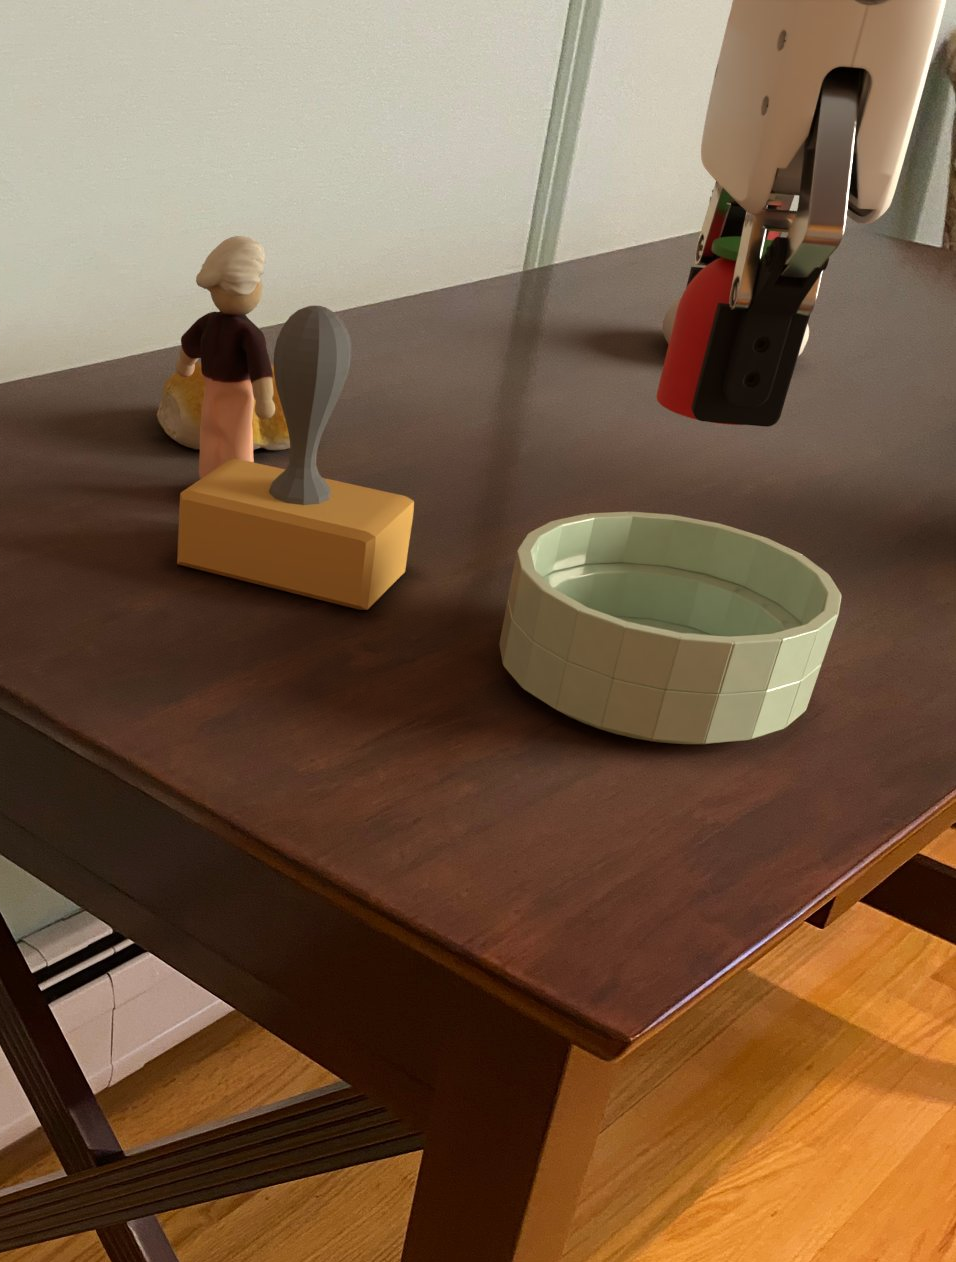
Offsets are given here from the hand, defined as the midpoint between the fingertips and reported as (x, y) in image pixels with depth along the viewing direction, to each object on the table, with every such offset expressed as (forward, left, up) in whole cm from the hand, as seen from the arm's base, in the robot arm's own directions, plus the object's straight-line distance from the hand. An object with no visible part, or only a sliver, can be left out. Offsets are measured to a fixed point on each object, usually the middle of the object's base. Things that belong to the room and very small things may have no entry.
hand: (720, 394), depth 58 cm
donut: (-14, -53, -12) cm, 56 cm away
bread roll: (+20, -28, -12) cm, 36 cm away
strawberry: (0, 0, 0) cm, 0 cm away
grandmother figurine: (+20, -18, -12) cm, 29 cm away
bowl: (0, 0, -12) cm, 12 cm away
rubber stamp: (+16, -9, -12) cm, 22 cm away
